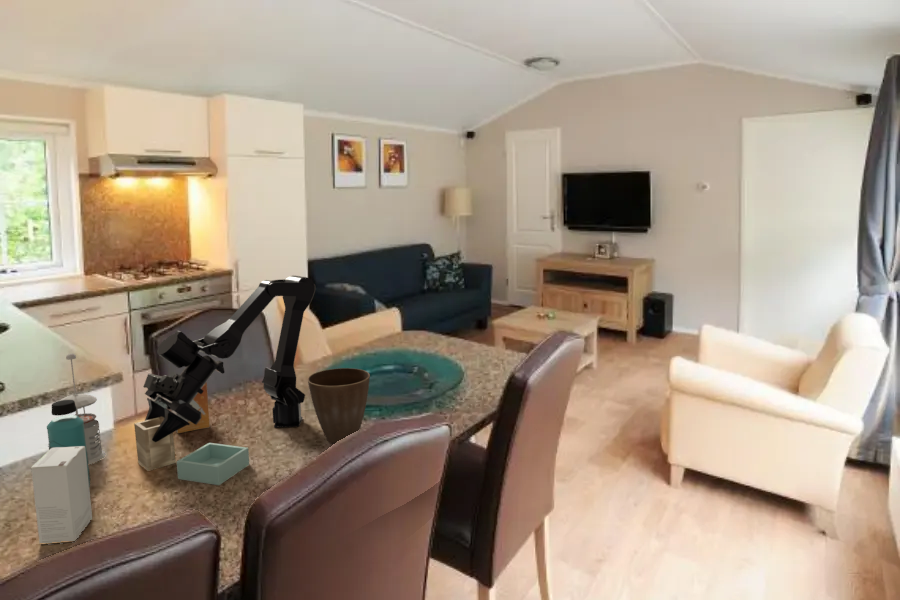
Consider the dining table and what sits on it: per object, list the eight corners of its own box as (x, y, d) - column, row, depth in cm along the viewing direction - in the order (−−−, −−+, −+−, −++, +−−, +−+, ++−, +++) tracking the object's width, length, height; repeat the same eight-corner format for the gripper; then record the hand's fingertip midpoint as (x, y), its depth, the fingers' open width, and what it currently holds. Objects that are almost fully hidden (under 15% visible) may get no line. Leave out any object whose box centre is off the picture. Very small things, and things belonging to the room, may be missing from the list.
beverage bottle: (65, 490, 126) (53, 396, 123) (98, 488, 126) (88, 395, 123) (47, 505, 120) (34, 407, 116) (82, 503, 120) (71, 406, 117)
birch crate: (165, 455, 143) (161, 416, 141) (175, 462, 139) (172, 422, 137) (138, 463, 139) (134, 423, 137) (147, 471, 134) (144, 430, 133)
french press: (55, 471, 135) (42, 361, 131) (60, 452, 145) (48, 349, 141) (106, 462, 139) (94, 355, 135) (107, 444, 149) (97, 344, 145)
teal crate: (210, 459, 140) (209, 442, 140) (249, 464, 137) (248, 447, 136) (178, 478, 130) (176, 461, 130) (219, 485, 127) (217, 467, 127)
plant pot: (344, 455, 141) (341, 389, 139) (297, 442, 149) (294, 379, 147) (383, 434, 154) (382, 373, 151) (339, 423, 162) (336, 365, 159)
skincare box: (59, 522, 113) (50, 446, 111) (95, 519, 114) (86, 443, 112) (38, 547, 105) (27, 466, 103) (76, 543, 106) (66, 463, 104)
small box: (177, 434, 155) (173, 384, 153) (172, 426, 161) (168, 378, 159) (210, 427, 160) (207, 379, 158) (205, 420, 165) (201, 373, 163)
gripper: (150, 352, 144) (103, 409, 138) (182, 367, 131) (133, 430, 125) (186, 377, 151) (143, 432, 145) (220, 394, 138) (175, 455, 132)
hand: (147, 437), depth 137 cm, fingers open, 7 cm apart
